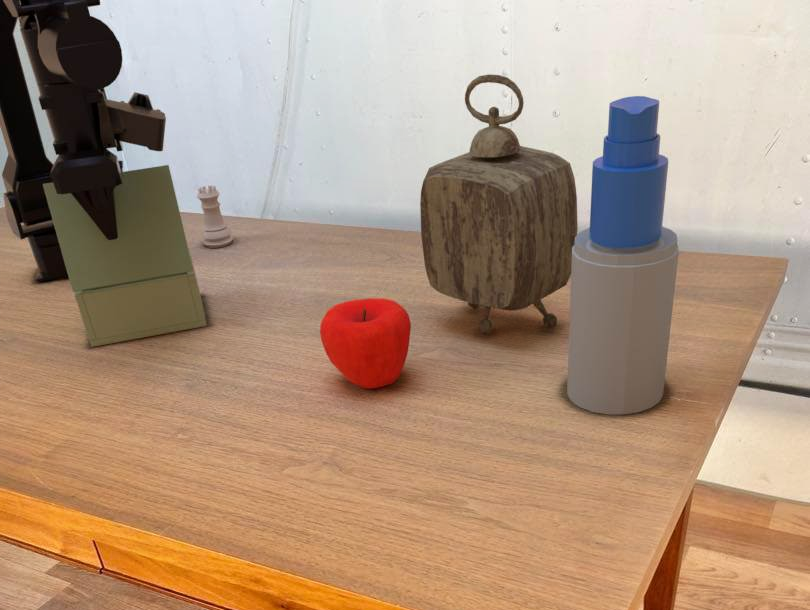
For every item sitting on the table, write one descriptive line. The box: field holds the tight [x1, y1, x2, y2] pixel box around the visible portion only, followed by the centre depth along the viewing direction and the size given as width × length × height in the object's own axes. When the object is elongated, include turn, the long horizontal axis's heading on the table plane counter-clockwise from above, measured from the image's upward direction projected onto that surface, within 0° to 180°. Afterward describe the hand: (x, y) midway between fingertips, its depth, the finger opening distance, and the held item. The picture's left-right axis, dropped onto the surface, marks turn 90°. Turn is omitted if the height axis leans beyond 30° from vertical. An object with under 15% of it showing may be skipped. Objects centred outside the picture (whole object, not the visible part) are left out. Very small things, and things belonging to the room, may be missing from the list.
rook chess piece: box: [196, 185, 234, 249], centre depth 124 cm, size 4×4×8 cm
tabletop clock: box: [419, 74, 579, 335], centre depth 87 cm, size 14×9×25 cm, turn 47°
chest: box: [74, 247, 207, 348], centre depth 103 cm, size 11×14×6 cm
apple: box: [319, 298, 412, 389], centre depth 84 cm, size 9×9×8 cm
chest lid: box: [43, 164, 194, 293], centre depth 95 cm, size 11×14×1 cm
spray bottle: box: [566, 95, 680, 416], centre depth 73 cm, size 9×9×25 cm
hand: (113, 238), depth 93 cm, fingers closed
